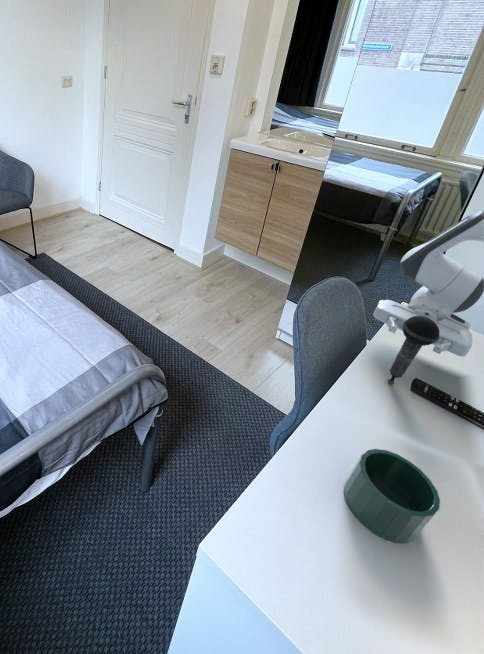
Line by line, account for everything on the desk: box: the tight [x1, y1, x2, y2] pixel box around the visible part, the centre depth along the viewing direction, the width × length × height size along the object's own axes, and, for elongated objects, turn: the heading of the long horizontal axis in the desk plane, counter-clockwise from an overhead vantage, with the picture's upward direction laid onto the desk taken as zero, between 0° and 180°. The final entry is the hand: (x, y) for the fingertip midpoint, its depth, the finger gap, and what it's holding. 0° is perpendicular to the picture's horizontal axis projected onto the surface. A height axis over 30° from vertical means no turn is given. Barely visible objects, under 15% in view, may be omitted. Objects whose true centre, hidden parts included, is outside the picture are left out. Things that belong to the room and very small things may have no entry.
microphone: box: [387, 316, 440, 386], centre depth 98 cm, size 7×7×20 cm
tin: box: [343, 448, 441, 544], centre depth 73 cm, size 12×12×8 cm
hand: (414, 339), depth 102 cm, fingers open, 8 cm apart
